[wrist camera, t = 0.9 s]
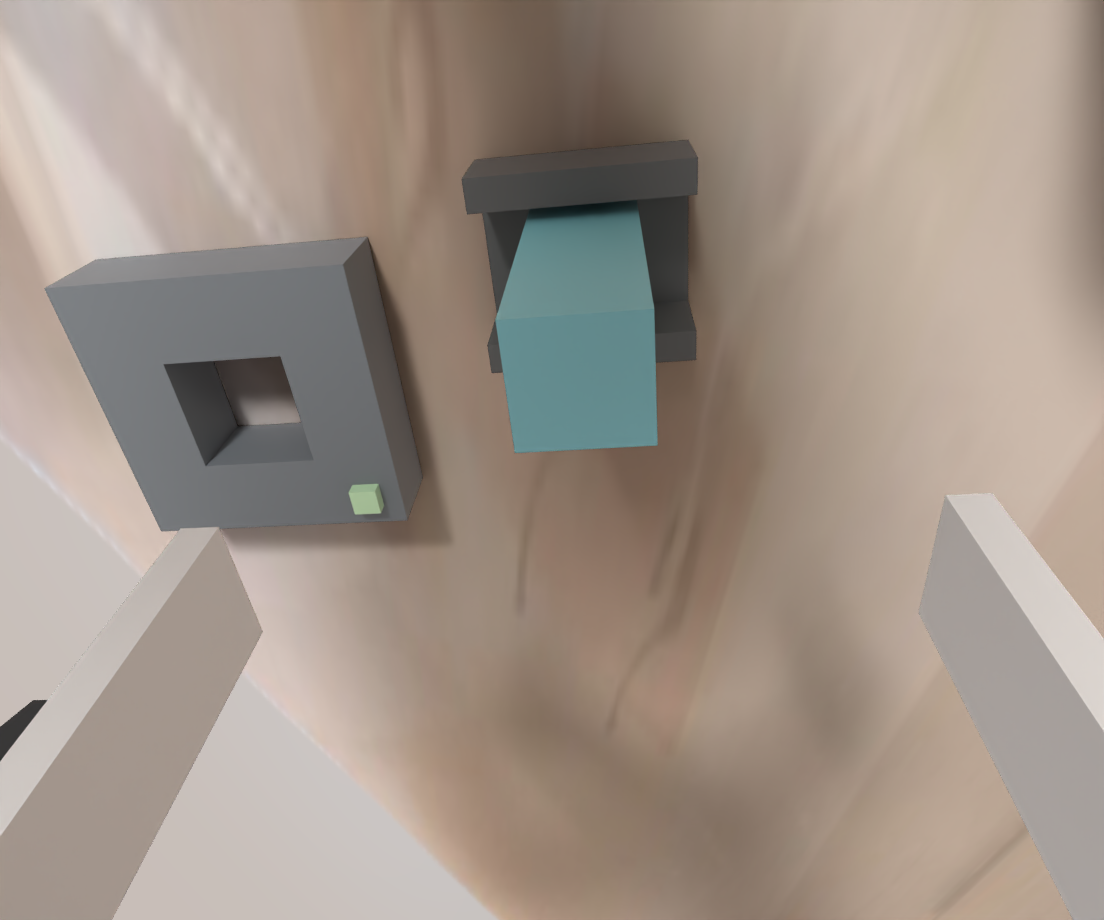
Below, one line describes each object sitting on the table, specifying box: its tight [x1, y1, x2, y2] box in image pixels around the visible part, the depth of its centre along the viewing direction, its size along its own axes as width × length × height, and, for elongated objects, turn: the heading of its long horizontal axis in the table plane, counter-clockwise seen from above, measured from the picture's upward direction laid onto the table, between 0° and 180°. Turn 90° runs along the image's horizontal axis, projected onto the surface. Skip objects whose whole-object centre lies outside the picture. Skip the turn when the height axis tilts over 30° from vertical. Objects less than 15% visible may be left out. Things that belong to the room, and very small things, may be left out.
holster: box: [462, 140, 698, 373], centre depth 29 cm, size 7×8×4 cm
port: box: [44, 237, 423, 531], centre depth 33 cm, size 12×12×4 cm
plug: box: [495, 200, 658, 453], centre depth 25 cm, size 4×4×12 cm
